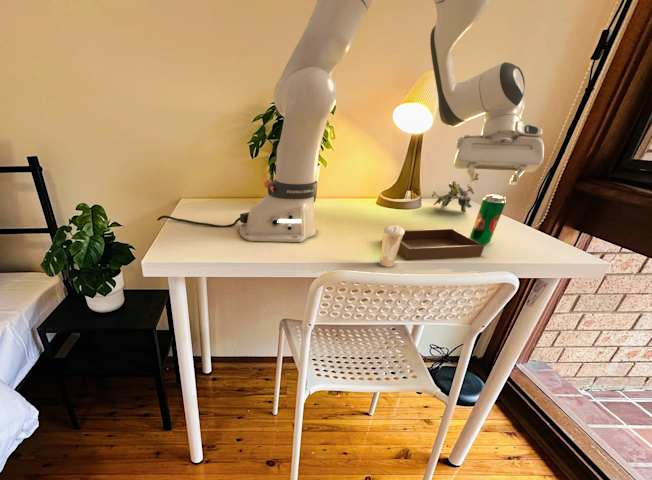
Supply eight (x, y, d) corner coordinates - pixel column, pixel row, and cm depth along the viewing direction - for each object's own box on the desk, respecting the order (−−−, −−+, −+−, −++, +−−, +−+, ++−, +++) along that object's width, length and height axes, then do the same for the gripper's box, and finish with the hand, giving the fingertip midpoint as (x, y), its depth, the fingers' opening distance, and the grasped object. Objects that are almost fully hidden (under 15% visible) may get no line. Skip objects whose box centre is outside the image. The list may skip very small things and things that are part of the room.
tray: (406, 260, 91) (409, 249, 89) (382, 241, 102) (385, 231, 101) (480, 256, 93) (485, 245, 91) (449, 238, 104) (452, 228, 102)
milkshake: (375, 267, 87) (384, 225, 82) (376, 259, 92) (386, 218, 86) (395, 270, 86) (406, 227, 80) (396, 262, 90) (406, 220, 84)
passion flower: (456, 228, 128) (483, 204, 117) (427, 222, 127) (451, 198, 116) (452, 202, 132) (478, 177, 121) (424, 196, 131) (447, 170, 120)
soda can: (464, 238, 103) (480, 194, 97) (483, 239, 103) (500, 194, 96) (473, 245, 99) (491, 198, 92) (493, 245, 99) (511, 199, 92)
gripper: (461, 127, 100) (454, 172, 98) (550, 128, 95) (544, 177, 93) (454, 143, 106) (447, 186, 104) (536, 146, 101) (531, 191, 99)
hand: (493, 182), depth 98 cm, fingers open, 8 cm apart
